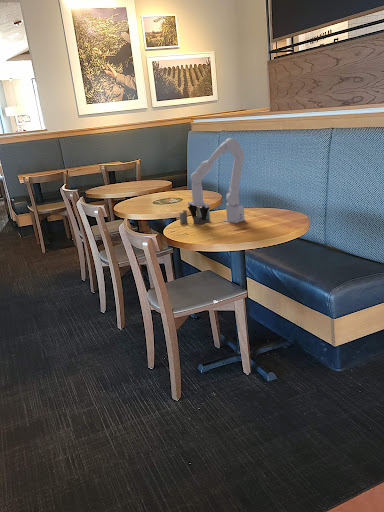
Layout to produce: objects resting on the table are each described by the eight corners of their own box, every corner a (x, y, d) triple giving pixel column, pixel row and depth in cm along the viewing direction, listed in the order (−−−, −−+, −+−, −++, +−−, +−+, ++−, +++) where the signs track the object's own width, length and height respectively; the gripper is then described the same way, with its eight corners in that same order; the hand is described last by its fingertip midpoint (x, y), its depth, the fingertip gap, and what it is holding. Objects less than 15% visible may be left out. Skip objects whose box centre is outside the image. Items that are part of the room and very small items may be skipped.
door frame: (207, 216, 260) (207, 204, 258) (182, 224, 248) (181, 211, 245) (205, 216, 261) (205, 204, 259) (180, 223, 249) (179, 211, 247)
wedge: (199, 225, 244) (198, 217, 243) (193, 224, 247) (193, 216, 246) (209, 221, 249) (209, 214, 248) (204, 220, 252) (203, 213, 251)
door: (199, 218, 256) (198, 209, 254) (210, 220, 249) (209, 210, 248) (197, 219, 255) (196, 209, 253) (208, 221, 248) (207, 211, 247)
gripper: (183, 195, 245) (185, 219, 249) (201, 197, 234) (203, 222, 238) (192, 192, 249) (194, 216, 253) (210, 194, 239) (212, 219, 243)
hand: (199, 219), depth 246 cm, fingers open, 7 cm apart
